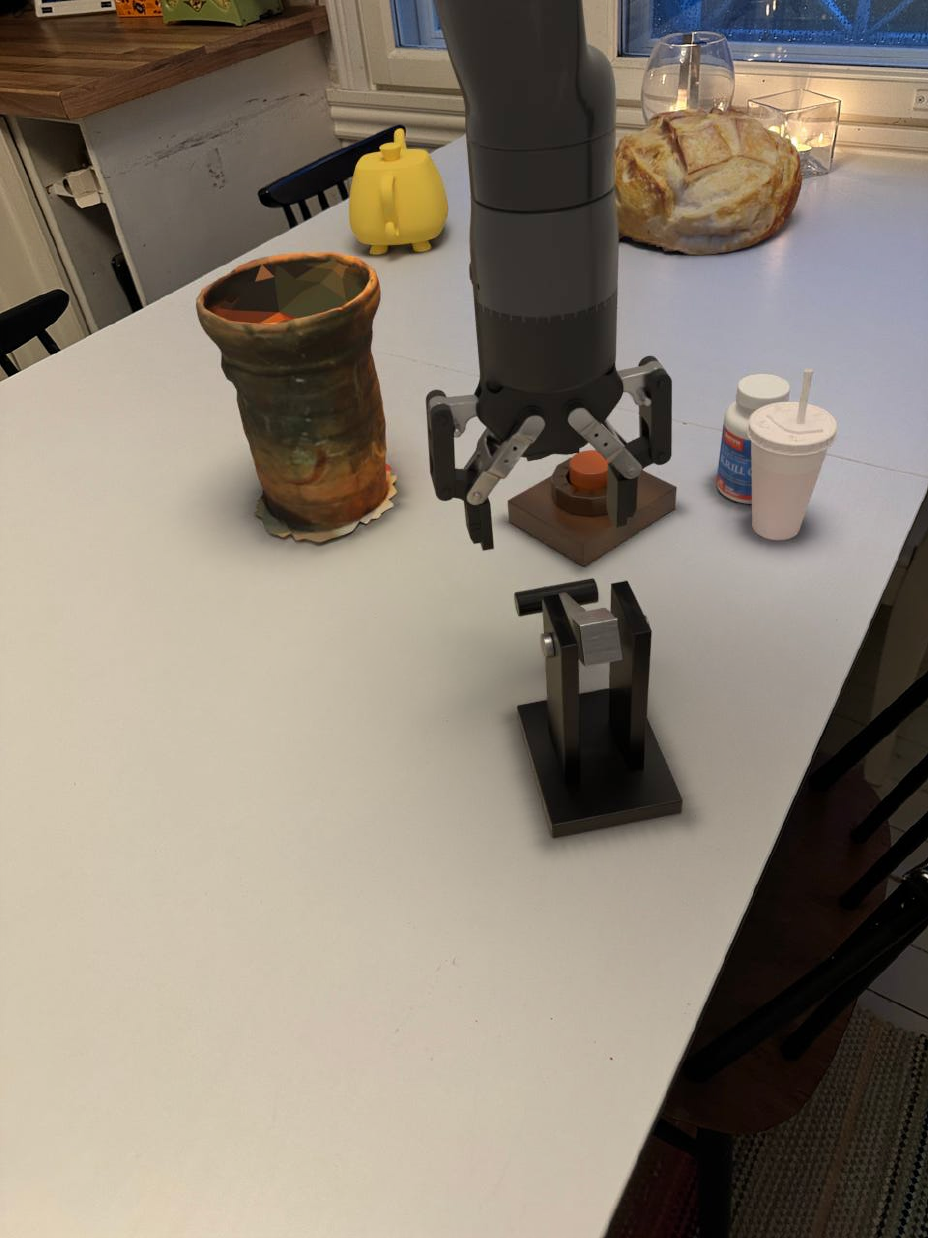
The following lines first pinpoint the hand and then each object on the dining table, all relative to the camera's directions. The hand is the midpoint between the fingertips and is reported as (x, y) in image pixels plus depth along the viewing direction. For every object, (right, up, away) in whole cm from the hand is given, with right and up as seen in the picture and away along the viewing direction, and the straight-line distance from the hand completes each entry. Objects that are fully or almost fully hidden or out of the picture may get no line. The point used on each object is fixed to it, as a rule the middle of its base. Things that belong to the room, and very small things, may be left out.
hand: (551, 531), depth 59 cm
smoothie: (+20, +2, +17) cm, 26 cm away
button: (+5, +6, +18) cm, 19 cm away
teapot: (-14, +49, +74) cm, 90 cm away
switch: (+1, -7, -2) cm, 7 cm away
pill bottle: (+19, +6, +21) cm, 29 cm away
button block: (+5, +3, +20) cm, 21 cm away
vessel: (-17, +5, +26) cm, 32 cm away
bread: (+26, +49, +68) cm, 88 cm away
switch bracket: (+3, -15, 0) cm, 15 cm away
